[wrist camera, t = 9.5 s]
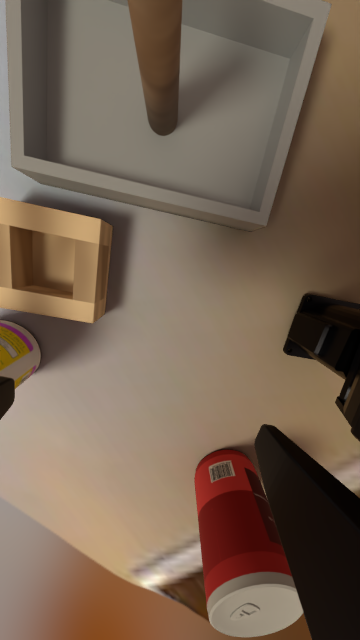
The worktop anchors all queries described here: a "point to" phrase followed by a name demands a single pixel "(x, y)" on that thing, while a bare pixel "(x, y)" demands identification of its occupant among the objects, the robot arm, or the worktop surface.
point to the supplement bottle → (17, 352)
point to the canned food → (241, 550)
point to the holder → (53, 261)
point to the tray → (193, 104)
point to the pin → (158, 58)
